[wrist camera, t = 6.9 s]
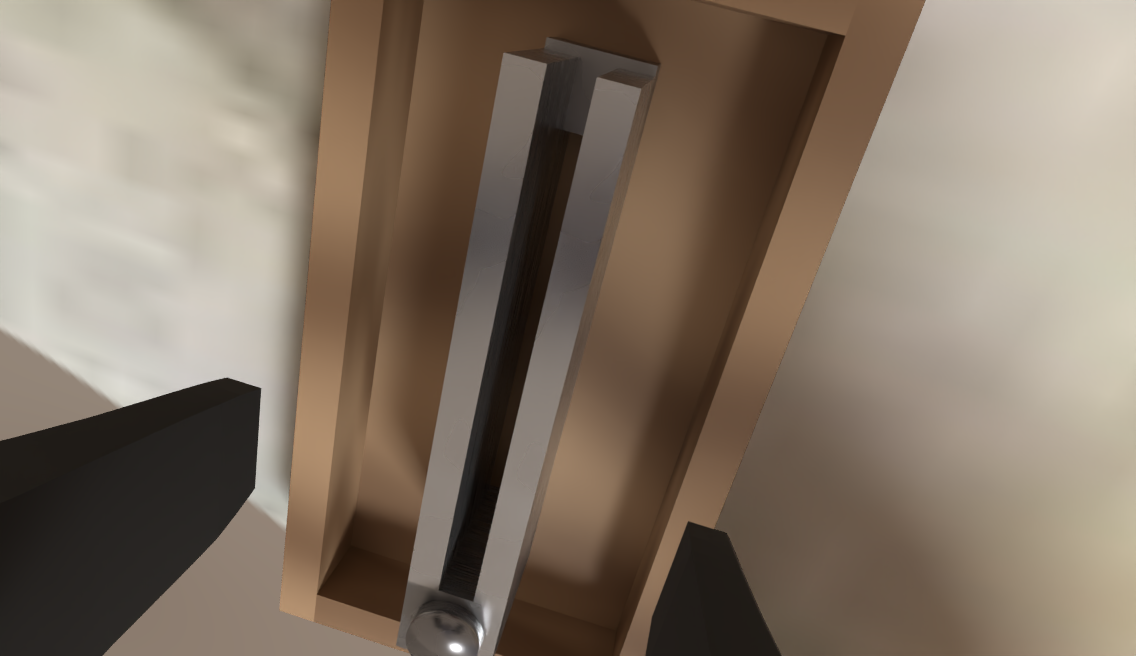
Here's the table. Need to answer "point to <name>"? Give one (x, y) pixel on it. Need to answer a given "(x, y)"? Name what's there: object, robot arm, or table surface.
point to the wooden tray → (625, 304)
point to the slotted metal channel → (519, 332)
